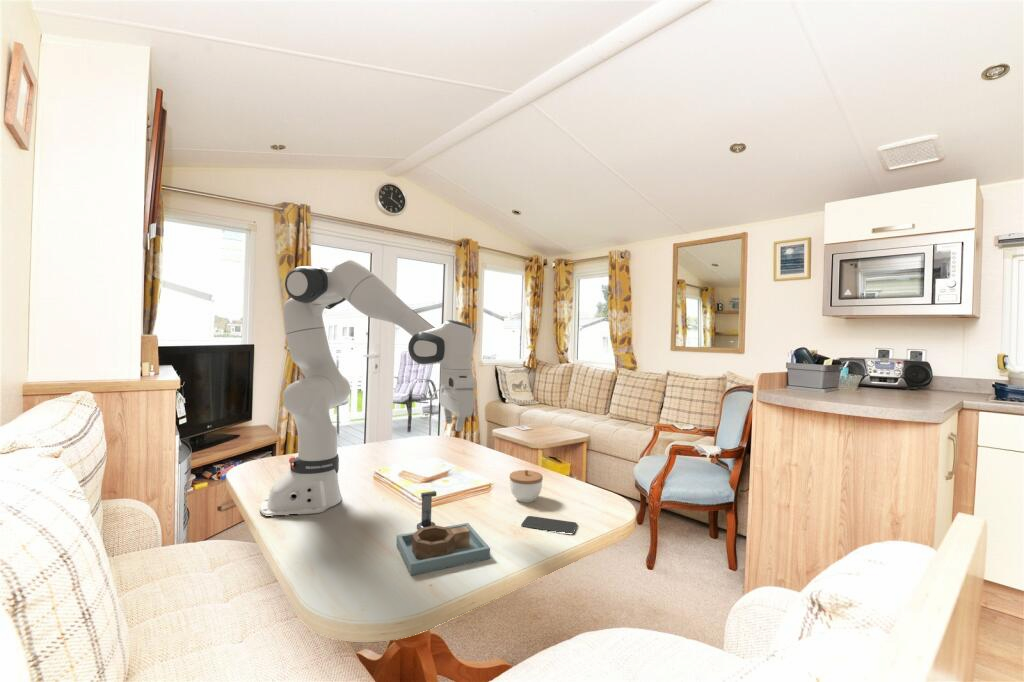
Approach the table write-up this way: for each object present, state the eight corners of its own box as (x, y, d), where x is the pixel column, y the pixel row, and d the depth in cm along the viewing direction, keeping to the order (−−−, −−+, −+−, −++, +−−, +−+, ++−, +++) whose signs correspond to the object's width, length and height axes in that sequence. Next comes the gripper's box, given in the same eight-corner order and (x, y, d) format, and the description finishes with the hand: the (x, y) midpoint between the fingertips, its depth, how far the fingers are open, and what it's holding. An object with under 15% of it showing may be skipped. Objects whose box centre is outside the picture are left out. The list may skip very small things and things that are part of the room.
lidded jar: (517, 507, 138) (518, 477, 138) (503, 495, 148) (504, 467, 148) (548, 502, 143) (548, 473, 142) (532, 491, 152) (533, 463, 152)
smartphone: (527, 515, 132) (578, 522, 127) (527, 518, 132) (578, 525, 127) (519, 525, 125) (573, 533, 120) (519, 528, 125) (573, 536, 120)
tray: (410, 575, 99) (410, 564, 99) (396, 545, 112) (396, 535, 112) (489, 558, 107) (490, 548, 107) (467, 531, 121) (468, 522, 121)
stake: (419, 532, 119) (420, 497, 119) (414, 525, 124) (415, 491, 124) (437, 529, 122) (438, 494, 121) (432, 522, 126) (433, 488, 126)
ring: (418, 564, 102) (419, 547, 102) (409, 545, 111) (409, 529, 111) (474, 552, 108) (474, 536, 108) (461, 536, 117) (461, 520, 117)
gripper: (435, 373, 135) (433, 419, 135) (456, 383, 116) (453, 436, 117) (455, 373, 137) (453, 418, 138) (479, 383, 119) (476, 434, 119)
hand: (453, 426), depth 127 cm, fingers open, 8 cm apart
